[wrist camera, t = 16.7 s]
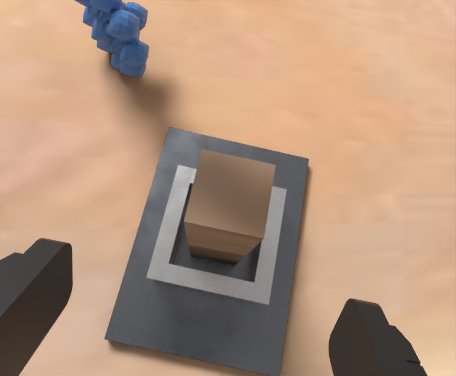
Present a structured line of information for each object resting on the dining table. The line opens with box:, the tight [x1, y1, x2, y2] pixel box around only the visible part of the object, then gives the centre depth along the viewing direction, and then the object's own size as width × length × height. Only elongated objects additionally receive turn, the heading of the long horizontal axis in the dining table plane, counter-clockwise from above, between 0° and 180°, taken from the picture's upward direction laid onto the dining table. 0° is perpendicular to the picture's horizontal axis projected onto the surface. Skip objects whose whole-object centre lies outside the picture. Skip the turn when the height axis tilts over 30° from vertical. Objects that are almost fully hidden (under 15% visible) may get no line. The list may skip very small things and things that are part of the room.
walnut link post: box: [184, 149, 276, 265], centre depth 26 cm, size 4×4×15 cm
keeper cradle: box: [105, 127, 309, 376], centre depth 31 cm, size 22×16×5 cm
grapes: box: [75, 0, 149, 78], centre depth 34 cm, size 12×7×12 cm, turn 38°
